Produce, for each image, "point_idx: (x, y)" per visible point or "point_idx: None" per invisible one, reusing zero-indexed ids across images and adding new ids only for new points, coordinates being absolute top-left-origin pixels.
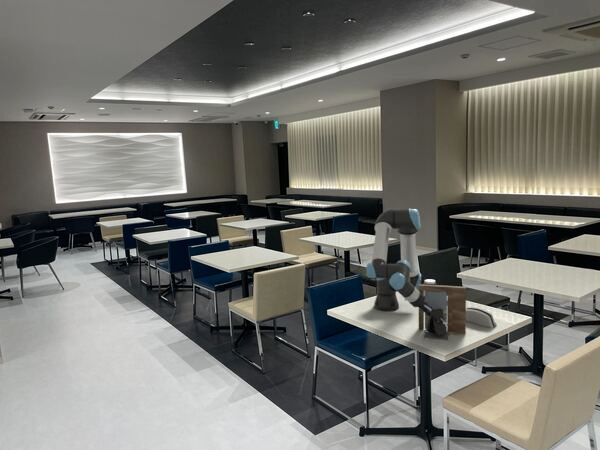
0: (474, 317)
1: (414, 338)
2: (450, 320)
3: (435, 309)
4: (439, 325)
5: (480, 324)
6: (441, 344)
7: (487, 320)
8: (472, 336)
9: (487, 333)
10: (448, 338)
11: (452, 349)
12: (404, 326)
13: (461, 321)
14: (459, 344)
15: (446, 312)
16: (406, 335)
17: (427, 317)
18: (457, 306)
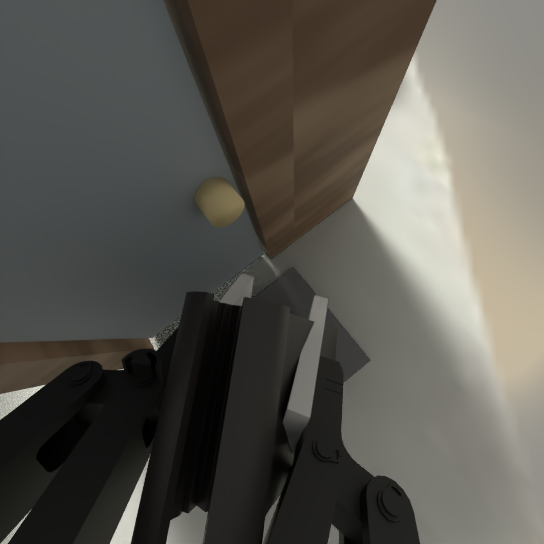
0: None
1: (198, 530)
2: (281, 209)
3: (177, 444)
4: None
5: None
6: (394, 463)
7: None
8: (399, 193)
9: (410, 104)
10: (351, 339)
11: (511, 482)
12: (27, 388)
13: (352, 158)
14: (459, 358)
15: (232, 183)
16: (124, 528)
17: (105, 324)
18: (359, 11)
